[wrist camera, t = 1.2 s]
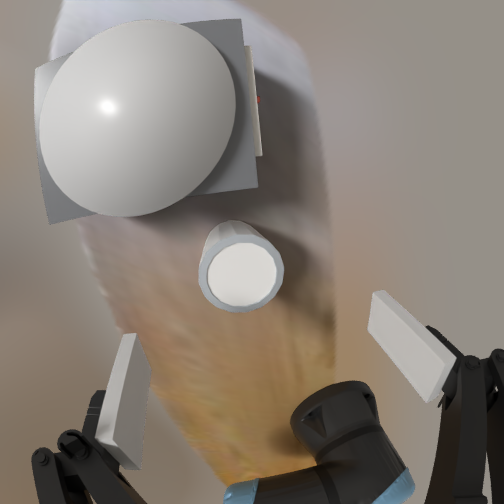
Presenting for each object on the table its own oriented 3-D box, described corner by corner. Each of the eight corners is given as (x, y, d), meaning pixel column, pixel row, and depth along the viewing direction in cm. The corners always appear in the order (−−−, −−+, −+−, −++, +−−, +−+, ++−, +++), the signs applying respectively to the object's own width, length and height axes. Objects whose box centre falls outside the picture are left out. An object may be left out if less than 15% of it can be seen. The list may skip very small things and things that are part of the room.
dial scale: (251, 180, 26) (277, 195, 17) (93, 206, 24) (44, 235, 15) (238, 53, 22) (258, 6, 12) (80, 83, 20) (29, 60, 10)
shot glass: (255, 283, 30) (270, 318, 24) (192, 271, 28) (190, 306, 22) (274, 222, 28) (296, 245, 22) (207, 206, 26) (209, 224, 20)
